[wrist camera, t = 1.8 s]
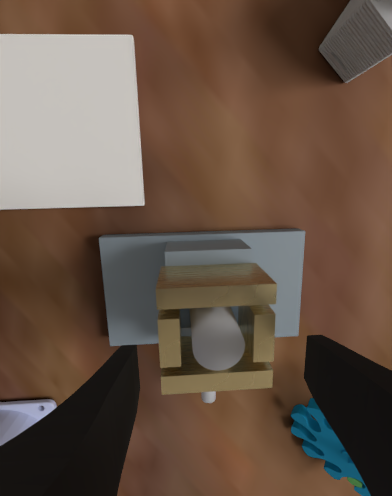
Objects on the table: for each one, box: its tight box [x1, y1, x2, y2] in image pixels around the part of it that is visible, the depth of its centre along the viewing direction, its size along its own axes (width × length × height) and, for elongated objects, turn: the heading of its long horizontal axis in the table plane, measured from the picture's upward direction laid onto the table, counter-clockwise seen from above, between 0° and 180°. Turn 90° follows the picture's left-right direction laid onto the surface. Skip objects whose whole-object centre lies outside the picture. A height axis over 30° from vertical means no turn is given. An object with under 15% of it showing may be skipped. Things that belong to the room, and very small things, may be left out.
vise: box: [99, 229, 305, 403], centre depth 17 cm, size 14×12×8 cm
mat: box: [0, 34, 145, 210], centre depth 17 cm, size 10×10×1 cm
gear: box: [291, 398, 371, 496], centre depth 21 cm, size 11×6×10 cm
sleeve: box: [156, 263, 277, 395], centre depth 14 cm, size 6×6×4 cm
